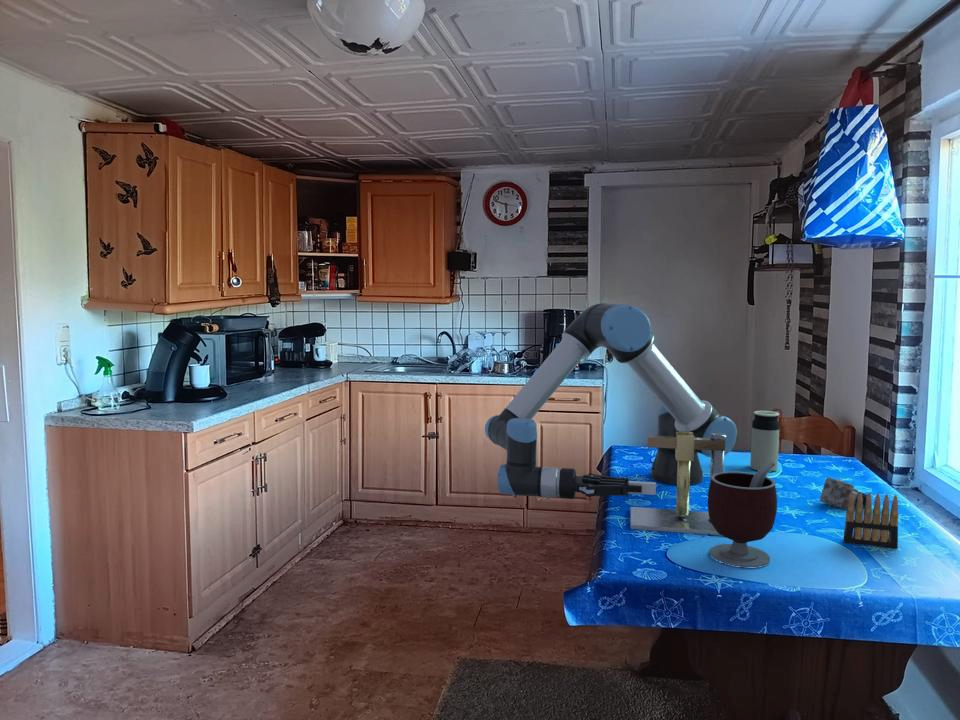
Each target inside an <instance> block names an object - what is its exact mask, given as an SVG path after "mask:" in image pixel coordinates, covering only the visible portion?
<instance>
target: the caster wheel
mask: <svg viewBox="0 0 960 720" xmlns="http://www.w3.org/2000/svg"><path fill="white" fill-rule="evenodd" d="M851 491H852V492H853V495H854V505H856V504H857V498H858V494H859V492H860V491H858V489H856V488H855V485H853V484H850V483H847V482H845V481H843V480H841V479H835V478H832V477H826V479H825V482H824V485H823V488H822V490H821V495H820V497H819V501H820V502H822V503H824V504H828V505H830V506H832V507H833V506H834V507H836V508H839V509H843V510H847V506H848V498H849V494H850V492H851ZM861 493H862V497H863V507H865V504H866V498H867V495H868V494H866V493H863V492H861Z"/></svg>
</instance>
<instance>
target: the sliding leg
mask: <svg viewBox="0 0 960 720" xmlns="http://www.w3.org/2000/svg"><path fill="white" fill-rule="evenodd" d="M676 437H677V449H675V457H676V460H678V468H677V485H676V498H675V499H676V501H675V502H676V503H675V504H676V505H675V510H676V514H678V515H680V518H684V515H688V514H689V511H690V488H691V487H690V486H691V485H690V464H691V461H694V437H695V436H693V433H692V432H676Z"/></svg>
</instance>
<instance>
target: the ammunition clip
mask: <svg viewBox="0 0 960 720" xmlns="http://www.w3.org/2000/svg"><path fill="white" fill-rule="evenodd" d="M858 492H859V494H858V498H857V504H854V495H853V492H852V491H851V492H850V494H849V498H848V506H847V509H845V510H846V512H845V523H844V531H843V532H844V533H843V539H842V541H843V543H844V544H850V545H859V546H868V547H876V548H888V549H894V550H895V549H896V550H897V549H898V548H899V547H898V546H899V538H898V537H899V500H898V496H897V494H894V496H893V498H892V501H891V508H890V497H889V495H888V493H886V494H885V496H884V499H883V502H882V510H881V497H880V494H879V492H878V493H876V495H875V498H874V505H873V507H872V501H873V499H872V495H871V492H868V493H867V494H866V495H867V498H866V504H865V506H863V497H862V493H863V492H861V491H858ZM855 505H856V506H855ZM872 508H873V509H872ZM890 509H891V510H890Z"/></svg>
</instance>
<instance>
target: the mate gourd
mask: <svg viewBox="0 0 960 720" xmlns="http://www.w3.org/2000/svg"><path fill="white" fill-rule="evenodd" d="M773 466H775V463H773V462H772V463H770V464H768V465H766V466H765V467H763V468H761V469H760V470H759V471H756V472H755V473H753V472H752V473H751V472H745V471H744V472H743V471H724V472H721V473H716V474H714V475H712V476H711V482H710V481H709V486H708V490H707V512H709V518H710V522H711V524H712V525H713V527H714V528H715V530H716V531H717V532H718V533H719V534H720V535H719V536H721V535H722V537H724V538H727V539H729V540H731V541H732V543H721V544H716V545H714V546H712V547H710V549H709V556H710V555H711V556H712V557H713V558H714V559H716V560H718V561H721V562H723V563H726V564H730V565H734V566H740V567H759V566H764V565H767V564H768V563H769V562H771V556H770V555H769V554H768V553H767V552H766V551H764V550H761V549H759V548H757V547H753V546H750V545H748V543H750V542H755V541H757V542H758V541H759V540H762V539H764V538H765V537H766V536H767V535H768V534H769V533H771V532H772V530H773V527H774V525H775V521H776V517H777V512H778V496H777V495H778V494H777V488H776V481H775V480H774V479H772V478H770V477H768V474H769V473H770V472H769V470H770V469H771V468H772V467H773ZM714 559H713V560H714ZM769 564H770V563H769ZM769 564H768V565H769ZM768 565H767V566H768Z"/></svg>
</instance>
